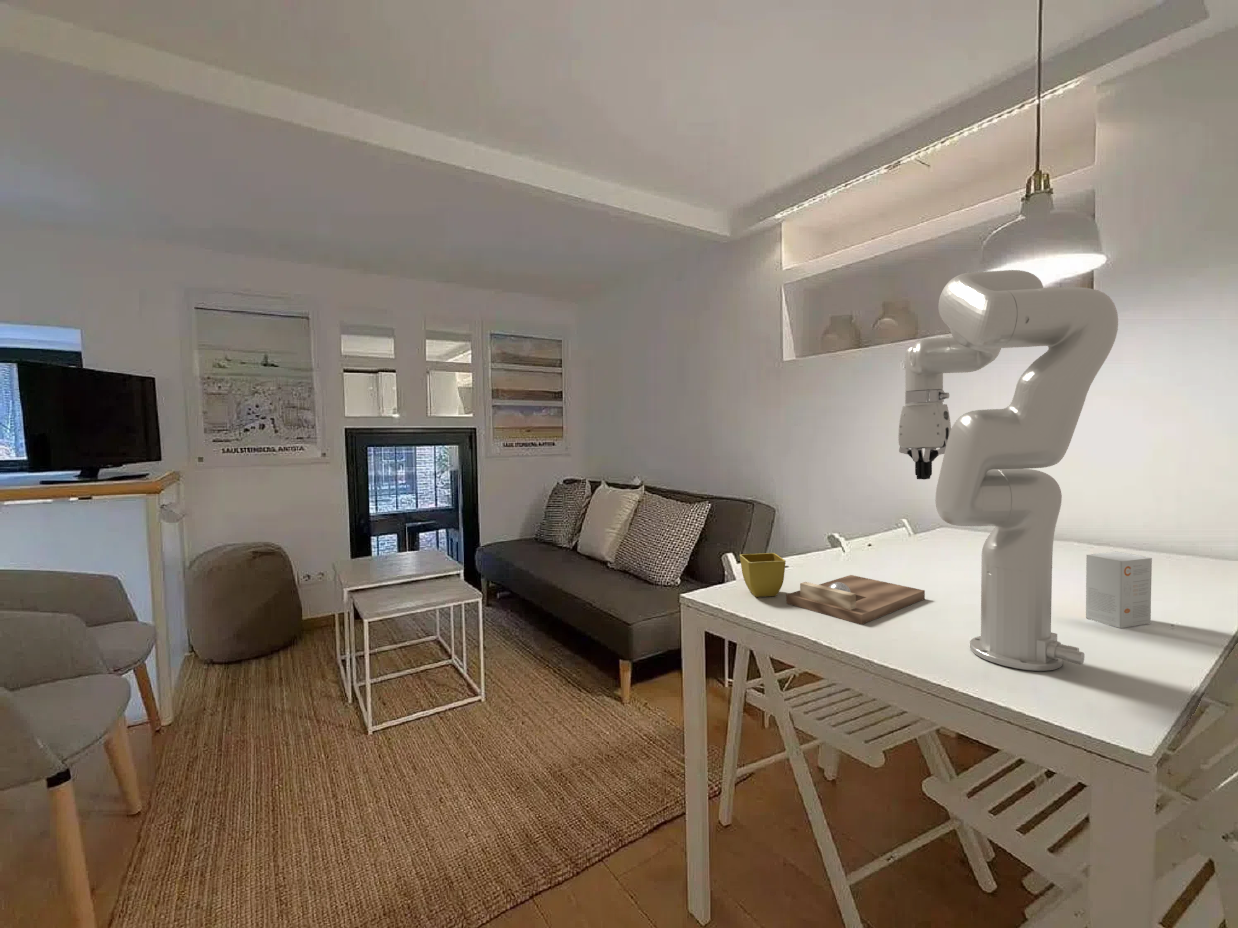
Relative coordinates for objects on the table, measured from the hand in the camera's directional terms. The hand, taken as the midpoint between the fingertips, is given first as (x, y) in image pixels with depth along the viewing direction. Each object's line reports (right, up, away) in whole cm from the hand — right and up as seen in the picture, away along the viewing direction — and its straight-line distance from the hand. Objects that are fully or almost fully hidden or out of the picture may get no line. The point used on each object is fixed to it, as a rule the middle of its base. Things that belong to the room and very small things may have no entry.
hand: (923, 478), depth 124 cm
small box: (+27, -28, -19) cm, 43 cm away
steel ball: (-21, -25, -5) cm, 34 cm away
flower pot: (-36, -28, +5) cm, 46 cm away
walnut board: (-17, -28, -2) cm, 32 cm away
